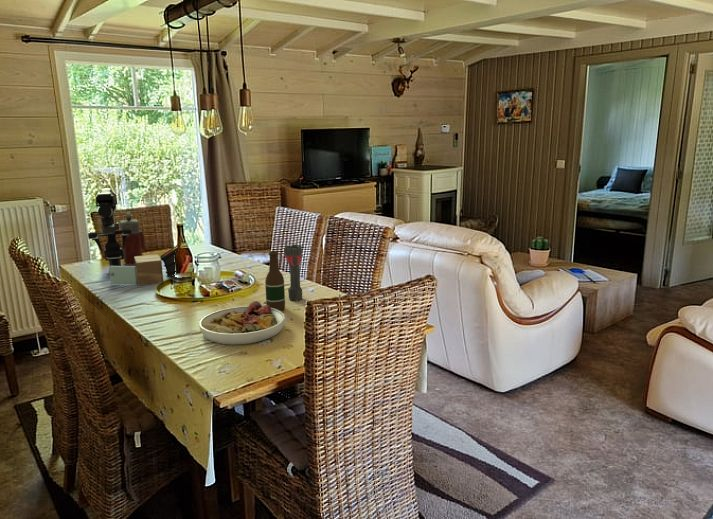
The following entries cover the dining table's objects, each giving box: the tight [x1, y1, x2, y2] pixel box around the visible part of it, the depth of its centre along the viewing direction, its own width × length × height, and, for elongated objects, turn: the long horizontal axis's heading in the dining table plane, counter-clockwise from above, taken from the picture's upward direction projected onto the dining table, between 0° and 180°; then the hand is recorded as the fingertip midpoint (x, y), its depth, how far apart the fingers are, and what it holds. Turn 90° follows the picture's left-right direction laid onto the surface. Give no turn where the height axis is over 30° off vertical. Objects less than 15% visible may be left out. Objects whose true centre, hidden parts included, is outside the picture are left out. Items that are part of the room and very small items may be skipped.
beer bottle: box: [264, 250, 286, 312], centre depth 215 cm, size 8×8×24 cm
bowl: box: [198, 300, 286, 346], centre depth 193 cm, size 30×30×8 cm
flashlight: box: [283, 244, 303, 302], centre depth 230 cm, size 8×8×23 cm
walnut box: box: [134, 254, 164, 286], centre depth 262 cm, size 15×11×11 cm
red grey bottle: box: [119, 211, 146, 265], centre depth 299 cm, size 9×11×28 cm
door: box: [108, 265, 139, 286], centre depth 253 cm, size 13×2×9 cm, turn 84°
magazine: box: [159, 245, 177, 278], centre depth 272 cm, size 4×13×15 cm, turn 131°
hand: (112, 251), depth 258 cm, fingers open, 9 cm apart
